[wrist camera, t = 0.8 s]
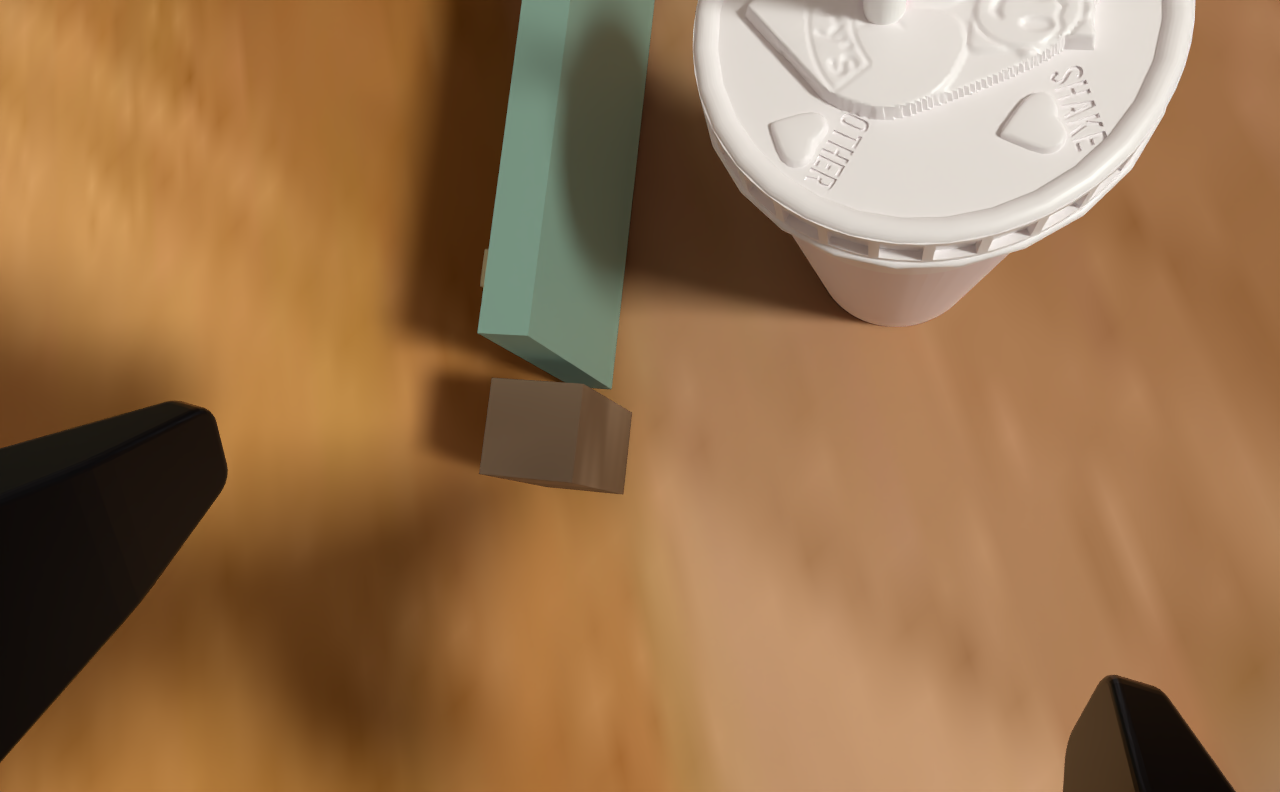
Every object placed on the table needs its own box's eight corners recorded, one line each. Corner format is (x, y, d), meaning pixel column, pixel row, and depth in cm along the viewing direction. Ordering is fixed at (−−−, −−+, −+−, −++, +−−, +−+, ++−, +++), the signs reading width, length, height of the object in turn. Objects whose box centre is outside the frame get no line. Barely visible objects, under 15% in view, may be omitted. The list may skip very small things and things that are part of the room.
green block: (611, 389, 22) (528, 335, 16) (536, 384, 22) (430, 330, 17) (665, -93, 23) (606, -288, 18) (594, -88, 24) (516, -276, 18)
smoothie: (780, 116, 22) (659, -555, 9) (1058, 129, 20) (1446, -680, 7) (742, 367, 21) (543, 57, 8) (1029, 401, 20) (1403, 82, 6)
